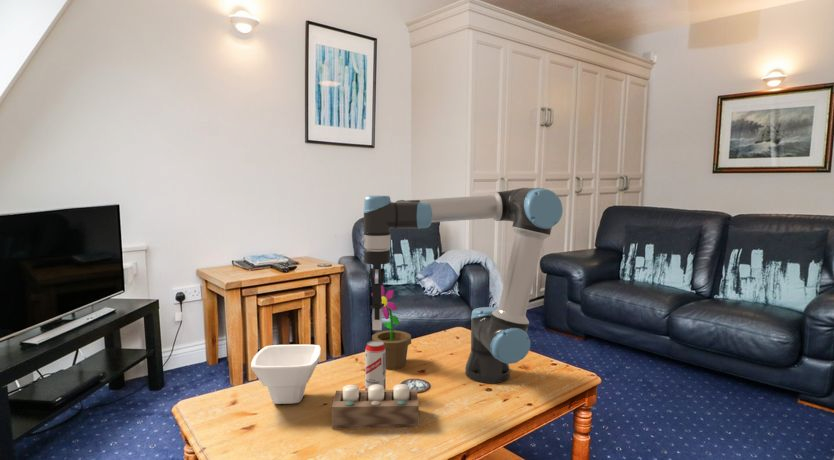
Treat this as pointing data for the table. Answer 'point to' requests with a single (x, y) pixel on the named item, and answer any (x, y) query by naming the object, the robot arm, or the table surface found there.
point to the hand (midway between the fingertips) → (377, 329)
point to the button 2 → (401, 392)
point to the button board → (375, 411)
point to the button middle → (376, 392)
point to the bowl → (286, 370)
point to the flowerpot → (392, 336)
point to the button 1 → (351, 393)
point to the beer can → (375, 364)
